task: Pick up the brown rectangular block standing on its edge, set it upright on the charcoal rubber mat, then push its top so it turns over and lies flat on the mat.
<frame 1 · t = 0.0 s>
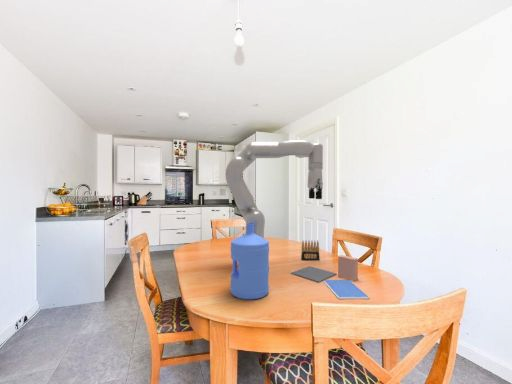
hand: (315, 198, 133), 37 cm above the table, tool pointing down, fingers open, 9 cm apart
blue notebook: (344, 291, 105), on the table
mat: (313, 274, 123), on the table
brown rectangular block: (347, 278, 118), on the table
water jug: (249, 292, 101), on the table
ammunition clip: (310, 260, 149), on the table
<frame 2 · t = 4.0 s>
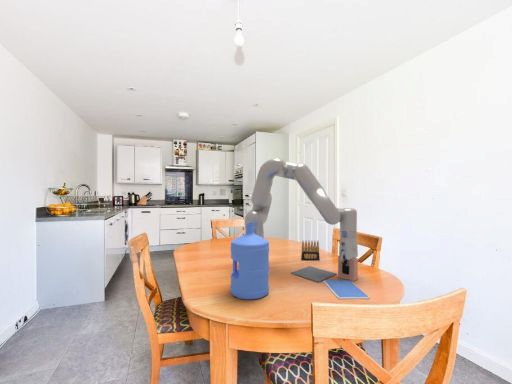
hand: (347, 272, 118), 3 cm above the table, tool pointing down, fingers closed on brown rectangular block, 3 cm apart
brown rectangular block: (347, 278, 118), on the table, touching gripper
everything else where it was.
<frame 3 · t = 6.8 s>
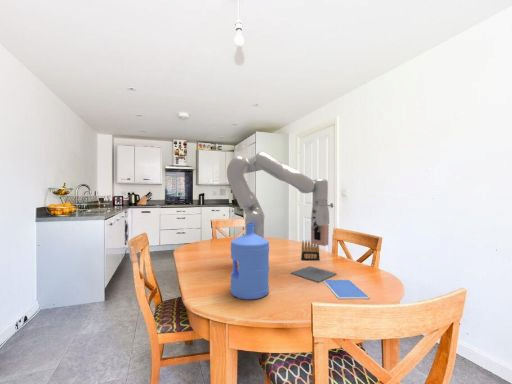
hand: (319, 238, 127), 17 cm above the table, tool pointing down, fingers closed on brown rectangular block, 3 cm apart
brown rectangular block: (319, 244, 127), point 14 cm above the table, touching gripper
everything else where it was.
when the fingers open (4 cm above the table, at t = 10.0 s): brown rectangular block stays where it is, resting on mat.
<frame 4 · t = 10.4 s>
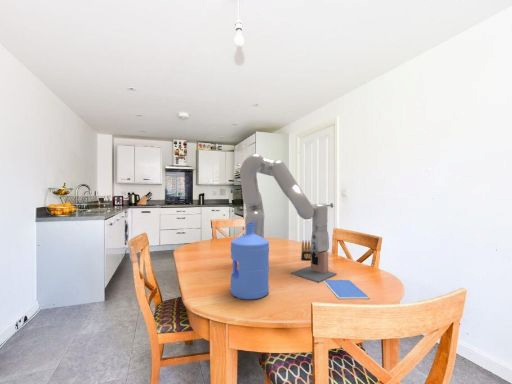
hand: (319, 262, 127), 5 cm above the table, tool pointing down, fingers open, 7 cm apart
brown rectangular block: (319, 270, 127), point 1 cm above the table, touching mat
everything else where it was.
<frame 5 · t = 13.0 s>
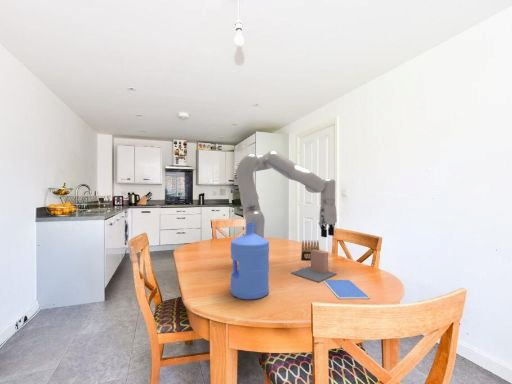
hand: (327, 235, 132), 18 cm above the table, tool pointing down, fingers open, 6 cm apart
nothing on the table moved.
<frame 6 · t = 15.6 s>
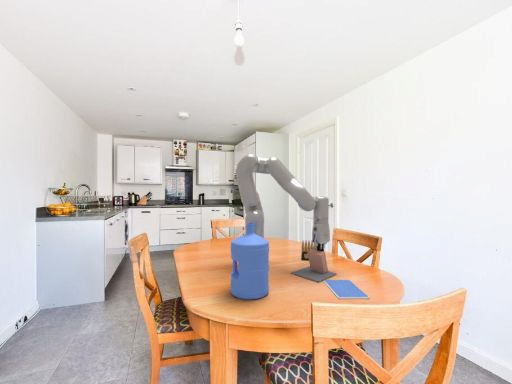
hand: (320, 256, 127), 8 cm above the table, tool pointing down, fingers closed
brown rectangular block: (319, 269, 127), point 1 cm above the table, tilted 17°, touching gripper, mat
everything else where it was.
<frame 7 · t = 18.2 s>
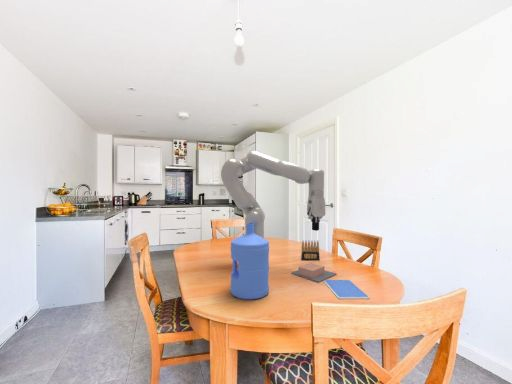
hand: (315, 230, 126), 22 cm above the table, tool pointing down, fingers closed
brown rectangular block: (317, 268, 125), point 2 cm above the table, tilted 90°, touching mat
everything else where it was.
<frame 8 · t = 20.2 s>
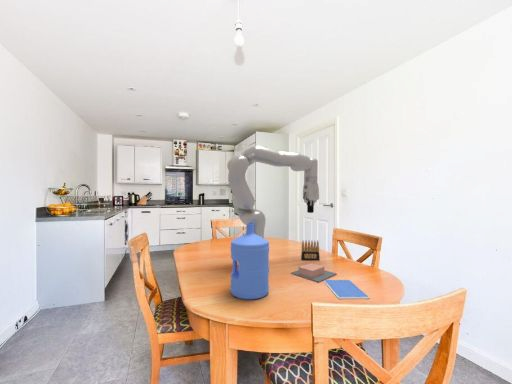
hand: (310, 212, 141), 29 cm above the table, tool pointing down, fingers closed
nothing on the table moved.
at the end: brown rectangular block tilted 90°; brown rectangular block inside the target area on the mat (3.2 cm from its centre), point 2.3 cm above the mat's base; the gripper is holding nothing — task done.
